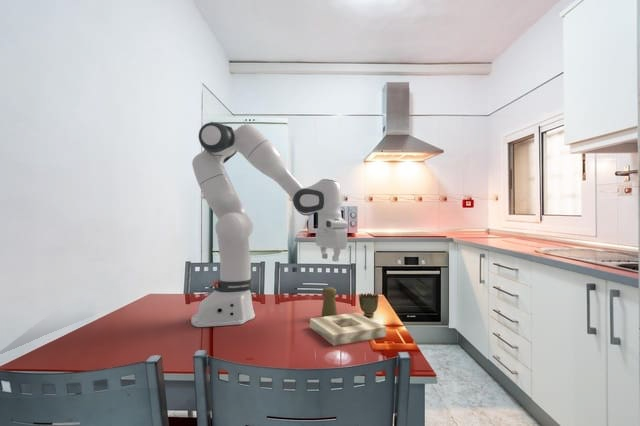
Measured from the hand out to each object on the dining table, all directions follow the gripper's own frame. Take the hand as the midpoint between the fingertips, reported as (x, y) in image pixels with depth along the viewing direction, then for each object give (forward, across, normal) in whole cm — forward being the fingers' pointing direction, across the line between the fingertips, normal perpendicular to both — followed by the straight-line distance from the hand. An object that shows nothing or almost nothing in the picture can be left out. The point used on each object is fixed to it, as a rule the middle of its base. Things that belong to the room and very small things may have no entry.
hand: (329, 259), depth 125 cm
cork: (+22, 0, 0) cm, 22 cm away
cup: (+22, +5, +14) cm, 26 cm away
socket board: (+21, +17, -2) cm, 27 cm away
